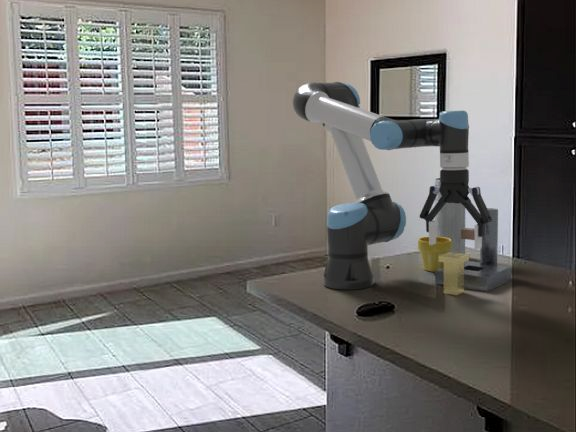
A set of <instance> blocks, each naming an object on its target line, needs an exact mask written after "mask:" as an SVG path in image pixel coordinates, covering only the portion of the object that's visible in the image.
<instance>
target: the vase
mask: <svg viewBox="0 0 576 432" xmlns="http://www.w3.org/2000/svg"><path fill="white" fill-rule="evenodd" d="M435 185H436V186H438V187H440V186H441V183H440V177H437V178H435V180H434V186H435ZM441 197H442V195H441V193H440V192H439V193H438V194H437V196H436V198H435V201H434V206H435V205H436V204H437V203H438V200H439V199H440V198H441ZM434 220H435V221H436V237H446V238H449V239H451V250H450V251H449V252H453V253H461V254H466V239H461V229H463V228H466V208H465V207H464V206H463V205H462V204H461V203H459V204H456V203H448V202H447V203H446V204H445V205H444V206H443V207H442V209H441V210H440V211H439V212H438V214H437V215H436V216H435V217H434Z"/></svg>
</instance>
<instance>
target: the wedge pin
mask: <svg viewBox="0 0 576 432" xmlns="http://www.w3.org/2000/svg"><path fill="white" fill-rule="evenodd" d="M466 261H470V254H468V253H465V254H461V253H453V252H448V253H445V254H442V255H440V256H439V262H444V285H443V294H447V295H451V296H452V295H453V296H458V295H460V294H463V293H464V292H465V288H464V262H466Z"/></svg>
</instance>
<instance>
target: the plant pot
mask: <svg viewBox="0 0 576 432" xmlns="http://www.w3.org/2000/svg"><path fill="white" fill-rule="evenodd" d="M417 249H418V251H419V252H420V257H421V263H422V267H423V270H424V271H428V272H435V270H437V269H439V268H442V267H444V262H439V256H440V255H442V254H445V253H448V252H449V251H450V250H451V239H449V238H446V237H436V244H433V245H429V236H421V237H419V238H417Z"/></svg>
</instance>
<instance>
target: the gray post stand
mask: <svg viewBox="0 0 576 432" xmlns="http://www.w3.org/2000/svg"><path fill="white" fill-rule="evenodd" d="M487 209H488V211H489V214H490V216H491V218H492V221H491V222H488V223H486V224H485V235H484V236H483V237H482V248H480V249H479V250H480V255H479V256H480V258H479V259H480V260H479V262H478V261H472V260H471V261H470V260H468V261H466V262H464V289H468V290H474V291H475V290H476V291H481V292H490V291H491V290H493V289H495V288H497V287H499V286H501V285H503V284H505V283H507V282H509V281H511V279H512V278H511V277H512V272H511V271H512V266H509V265H503V264H498V257H499V256H498V254H499V253H498V252H499V251H498V250H499V249H498V248H499V247H498V246H499V245H498V242H499V241H498V240H499V237H498V236H499V209H498V208H493V207H492V208H491V207H490V208H488V207H487ZM461 239H465V240H470V241H475V227H474V228H472V227H465V228H463V229H461ZM434 273H435V274H434V281H435V285H443V286H444V267H442V268H439V269H437V270H435V271H434Z"/></svg>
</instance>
